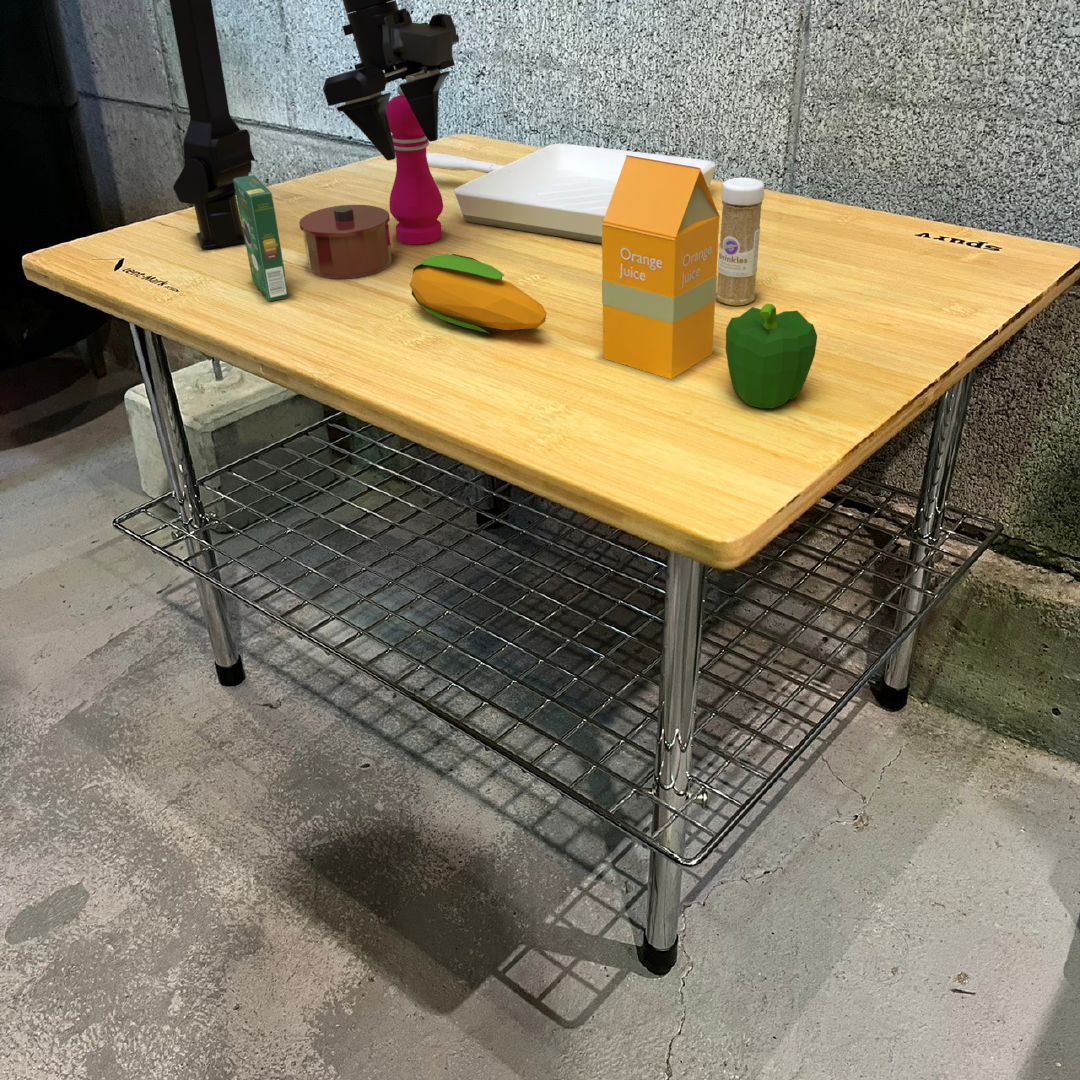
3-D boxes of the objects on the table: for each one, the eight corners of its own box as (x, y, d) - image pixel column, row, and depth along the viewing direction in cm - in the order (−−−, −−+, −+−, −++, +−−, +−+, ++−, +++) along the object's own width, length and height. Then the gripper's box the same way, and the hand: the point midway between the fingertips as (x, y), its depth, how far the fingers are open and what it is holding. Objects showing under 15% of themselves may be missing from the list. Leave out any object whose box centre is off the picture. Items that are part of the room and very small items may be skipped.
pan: (628, 253, 140) (628, 215, 138) (360, 209, 161) (355, 175, 158) (720, 193, 160) (721, 159, 157) (470, 161, 181) (468, 129, 178)
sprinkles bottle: (711, 304, 125) (717, 186, 118) (721, 290, 129) (727, 174, 121) (751, 308, 124) (759, 189, 116) (759, 294, 127) (768, 177, 120)
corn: (435, 233, 126) (568, 268, 115) (445, 294, 131) (573, 333, 120) (389, 255, 122) (521, 294, 111) (400, 318, 127) (528, 361, 115)
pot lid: (292, 221, 142) (289, 203, 140) (378, 208, 145) (375, 190, 143) (310, 247, 133) (307, 228, 131) (400, 232, 136) (398, 214, 135)
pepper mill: (437, 247, 146) (422, 88, 134) (386, 245, 147) (367, 88, 136) (451, 229, 151) (438, 76, 140) (402, 228, 153) (385, 76, 142)
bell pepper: (756, 370, 110) (764, 275, 105) (825, 395, 105) (836, 296, 100) (703, 398, 106) (707, 300, 100) (772, 425, 101) (781, 324, 95)
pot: (302, 258, 144) (295, 216, 141) (380, 245, 147) (375, 204, 144) (318, 284, 136) (311, 241, 133) (400, 270, 139) (396, 227, 136)
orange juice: (671, 379, 109) (677, 178, 98) (601, 358, 114) (599, 163, 103) (713, 353, 114) (724, 158, 103) (645, 333, 119) (648, 145, 108)
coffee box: (292, 298, 132) (272, 189, 125) (268, 303, 131) (247, 194, 124) (274, 278, 138) (255, 173, 131) (252, 283, 137) (231, 177, 130)
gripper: (380, 2, 110) (426, 158, 117) (472, -21, 124) (508, 120, 131) (299, 26, 116) (347, 174, 123) (395, 2, 130) (433, 136, 137)
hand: (413, 150), depth 128 cm, fingers open, 9 cm apart
